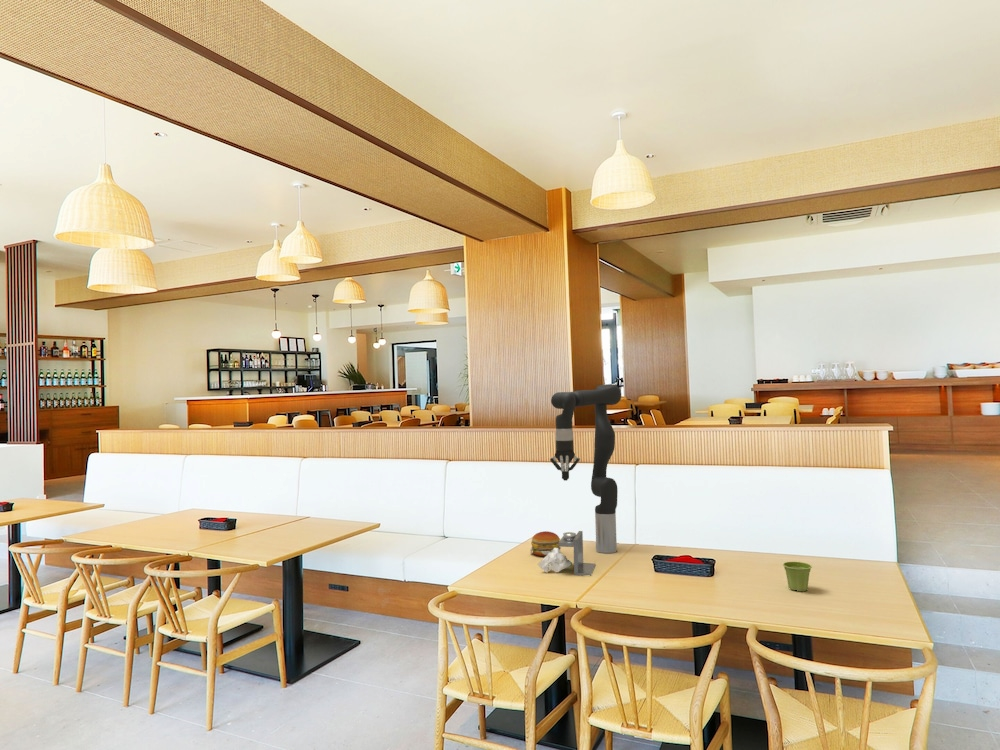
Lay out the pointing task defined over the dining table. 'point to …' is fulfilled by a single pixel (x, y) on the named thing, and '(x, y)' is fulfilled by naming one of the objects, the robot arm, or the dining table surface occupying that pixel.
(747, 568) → the dining table surface
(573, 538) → the bracket
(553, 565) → the white irregular lump
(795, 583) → the plant pot
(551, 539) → the burger
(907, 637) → the dining table surface
